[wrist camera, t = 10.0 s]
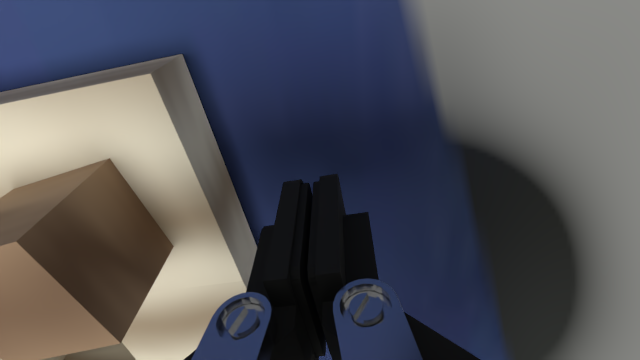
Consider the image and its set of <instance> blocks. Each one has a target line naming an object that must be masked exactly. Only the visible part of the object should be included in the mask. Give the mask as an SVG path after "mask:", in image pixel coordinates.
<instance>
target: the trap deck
mask: <svg viewBox="0 0 640 360" xmlns="http://www.w3.org/2000/svg"><path fill="white" fill-rule="evenodd" d="M109 158H110V159H111V161H112V162H113V164H114V165H115V166H116V168H117V169H118V170H119V172H120V173H121V175H122V176H123V177H124V179H125V180H126V181H127V183H128V184H129V186H130V187H131V188H132V190H133V191H134V192H135V194H136V195H137V197H138V198H139V199H140V201H141V202H142V203H143V205H144V206H145V208H146V209H147V210H148V212H149V213H150V214H151V216H152V217H153V218H154V220H155V221H156V223H157V224H158V225H159V227H160V228H161V229H162V231H163V232H164V234H165V235H166V236H167V238H168V239H169V240H170V242H171V243H172V245H173V246H174V247H173V249H172V251H171V253H170V255H169V256H168V258H167V260H166V262H165V264H164V266H163V267H162V269H161V271H160V273H159V275H158V276H157V278H156V280H155V282H154V284H153V286H152V287H151V289H150V291H149V293H148V295H147V297H146V298H145V300H144V302H143V304H142V306H141V307H140V309H139V311H138V313H137V315H136V317H135V318H134V320H133V322H132V324H131V326H130V327H129V329H128V331H127V333H126V335H125V337H124V338H123V340H122V342H121V344H116V345H111V346H106V347H101V348H96V349H91V350H86V351H81V352H76V353H71V354H66V355H61V356H56V357H51V358H46V359H41V360H184V359H185V358H186V357H187V356H189V355H190V354H191V353H192V352H194V351H195V350H196V349H197V347H198V345H199V343H200V341H201V339H202V337H203V334H204V332H205V330H206V328H207V326H208V324H209V322H210V320H211V318H212V316H213V315H214V313H215V312H216V310H217V309H218V308H219V307H220V306H221V305H222V304H223V303H224V302H225V301H227V300H228V299H230V298H231V297H233V296H235V295H238V294H241V293H246V290H247V286H248V282H249V278H250V274H251V270H252V266H253V263H254V259H255V255H256V251H257V246H256V243H255V241H254V238H253V235H252V233H251V230H250V228H249V225H248V222H247V220H246V217H245V215H244V212H243V210H242V207H241V204H240V202H239V199H238V197H237V194H236V192H235V189H234V186H233V184H232V181H231V179H230V176H229V173H228V171H227V168H226V166H225V163H224V161H223V158H222V155H221V153H220V150H219V148H218V145H217V143H216V140H215V137H214V135H213V132H212V130H211V127H210V124H209V122H208V119H207V117H206V114H205V112H204V109H203V106H202V104H201V101H200V99H199V96H198V93H197V91H196V88H195V86H194V83H193V81H192V78H191V75H190V73H189V70H188V68H187V65H186V63H185V60H184V57H183V55H182V54H179V55H175V56H170V57H165V58H160V59H156V60H151V61H146V62H141V63H137V64H132V65H127V66H122V67H118V68H113V69H108V70H103V71H99V72H94V73H89V74H84V75H80V76H75V77H70V78H65V79H61V80H56V81H51V82H46V83H42V84H37V85H32V86H28V87H23V88H18V89H13V90H9V91H4V92H0V198H1V197H3V196H4V195H6V194H7V193H8V192H10V191H11V190H13V189H15V188H18V187H22V186H25V185H28V184H31V183H34V182H37V181H40V180H43V179H46V178H50V177H53V176H56V175H59V174H62V173H65V172H68V171H71V170H75V169H78V168H81V167H84V166H87V165H90V164H93V163H96V162H99V161H103V160H106V159H109ZM0 360H2V359H0Z"/></svg>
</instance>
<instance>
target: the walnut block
mask: <svg viewBox="0 0 640 360" xmlns="http://www.w3.org/2000/svg"><path fill="white" fill-rule="evenodd" d="M173 247H174V246H173V245H172V243H171V242H170V240H169V239H168V238H167V236H166V235H165V234H164V232H163V231H162V229H161V228H160V227H159V225H158V224H157V223H156V221H155V220H154V218H153V217H152V216H151V214H150V213H149V212H148V210H147V209H146V208H145V206H144V205H143V203H142V202H141V201H140V199H139V198H138V197H137V195H136V194H135V192H134V191H133V190H132V188H131V187H130V186H129V184H128V183H127V181H126V180H125V179H124V177H123V176H122V175H121V173H120V172H119V170H118V169H117V168H116V166H115V165H114V164H113V162H112V161H111V159H110V158H109V159H106V160H103V161H99V162H96V163H93V164H90V165H87V166H84V167H81V168H78V169H75V170H71V171H68V172H65V173H62V174H59V175H56V176H53V177H50V178H46V179H43V180H40V181H37V182H34V183H31V184H28V185H25V186H22V187H18V188H15V189H13V190H11V191H10V192H8V193H7V194H6V195H4V196H3V197H1V198H0V359H2V360H41V359H46V358H51V357H56V356H61V355H66V354H71V353H76V352H81V351H86V350H91V349H96V348H101V347H106V346H111V345H116V344H121V342H122V340H123V338H124V337H125V335H126V333H127V331H128V329H129V327H130V326H131V324H132V322H133V320H134V318H135V317H136V315H137V313H138V311H139V309H140V307H141V306H142V304H143V302H144V300H145V298H146V297H147V295H148V293H149V291H150V289H151V287H152V286H153V284H154V282H155V280H156V278H157V276H158V275H159V273H160V271H161V269H162V267H163V266H164V264H165V262H166V260H167V258H168V256H169V255H170V253H171V251H172V249H173Z"/></svg>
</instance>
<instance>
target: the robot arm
mask: <svg viewBox="0 0 640 360" xmlns="http://www.w3.org/2000/svg"><path fill="white" fill-rule="evenodd" d="M326 342H327V345H328V348H329V352H330V354H331V357H332V360H480V359H479V358H477V357H475V356H474V355H472V354H471V353H469V352H467V351H466V350H464V349H462V348H461V347H459V346H458V345H456V344H454V343H453V342H451V341H450V340H448V339H446V338H445V337H443V336H442V335H440V334H438V333H437V332H435V331H434V330H432V329H430V328H429V327H427V326H426V325H424V324H422V323H421V322H419V321H418V320H416V319H414V318H413V317H411V316H410V315H408V314H406V313H405V312H404V311H403V309H402V306H401V304H400V301H399V299H398V296H397V295H396V293H395V292H394V290H393V289H392V288H391V287H390V286H389V285H387V284H386V283H384V282H382V281H379V280H378V273H377V267H376V260H375V254H374V247H373V241H372V234H371V228H370V221H369V215H368V212H365V213H358V214H350V215H346V213H345V208H344V203H343V198H342V192H341V187H340V182H339V177H338V174H333V175H326V176H320V180H319V181H318V182H314V184H313V196H312V191H311V187H310V184H309V183H305V184H303V181H302V180H301V179H300V180H294V181H287V182H284V183H283V187H282V191H281V196H280V201H279V205H278V210H277V215H276V220H275V224H274V225H271V226H264V227H263V229H262V231H261V235H260V239H259V243H258V247H257V251H256V255H255V259H254V263H253V266H252V270H251V274H250V278H249V282H248V286H247V290H246V293H241V294H238V295H235V296H233V297H231V298H230V299H228V300H227V301H225V302H224V303H223V304H222V305H221V306H220V307H219V308H218V309H217V310H216V312H215V313H214V315H213V316H212V318H211V320H210V322H209V324H208V326H207V328H206V330H205V332H204V334H203V337H202V339H201V341H200V343H199V345H198V347H197V349H196V350H195V351H194V352H192V353H191V354H190V355H189V356H187V357H186V358H185V359H184V360H319V356H325V353H326Z"/></svg>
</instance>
